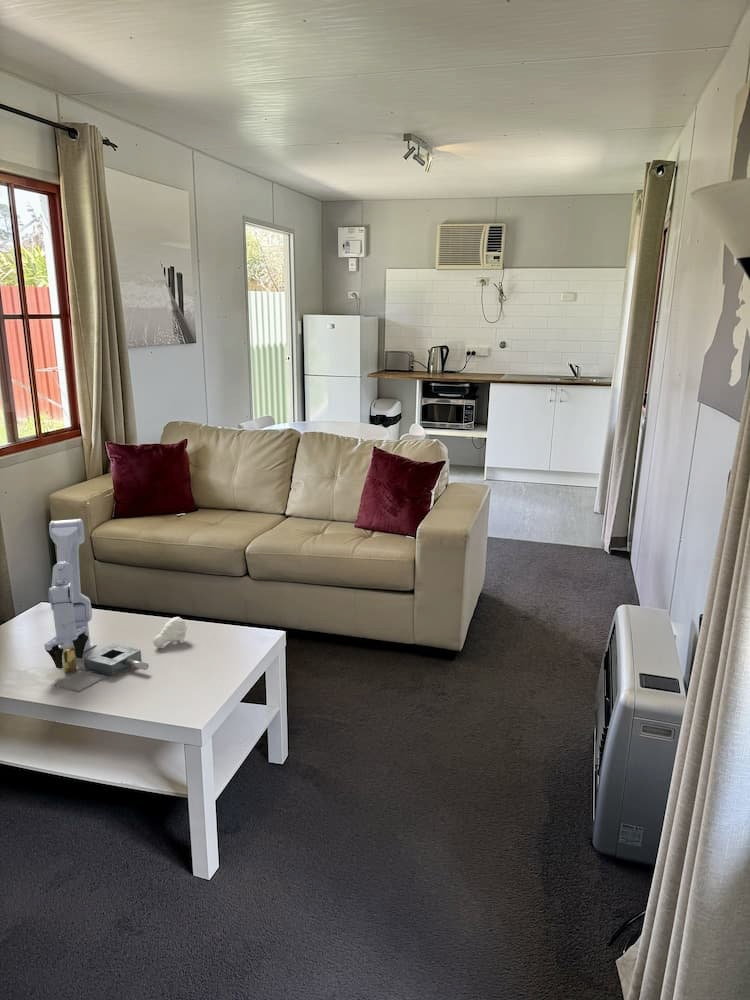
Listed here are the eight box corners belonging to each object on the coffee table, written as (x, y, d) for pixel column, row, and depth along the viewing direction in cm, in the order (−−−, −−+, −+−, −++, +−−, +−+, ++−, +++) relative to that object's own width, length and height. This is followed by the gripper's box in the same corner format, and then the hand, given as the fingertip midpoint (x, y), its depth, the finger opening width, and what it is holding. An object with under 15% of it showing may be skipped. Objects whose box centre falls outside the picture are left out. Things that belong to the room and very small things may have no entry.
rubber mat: (55, 685, 209) (55, 684, 208) (82, 671, 217) (82, 670, 217) (79, 692, 204) (79, 690, 204) (105, 677, 213) (105, 676, 213)
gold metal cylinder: (61, 671, 217) (59, 651, 216) (71, 667, 220) (68, 646, 219) (69, 674, 216) (67, 653, 214) (79, 669, 219) (76, 648, 217)
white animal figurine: (187, 617, 237) (157, 631, 228) (190, 639, 239) (161, 654, 230) (175, 613, 240) (145, 627, 232) (179, 635, 243) (150, 650, 234)
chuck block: (84, 670, 218) (83, 658, 217) (114, 654, 229) (113, 643, 228) (132, 682, 210) (131, 670, 209) (160, 666, 220) (159, 654, 219)
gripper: (53, 632, 207) (59, 674, 209) (92, 615, 219) (97, 655, 222) (37, 629, 210) (43, 670, 212) (76, 612, 222) (81, 652, 225)
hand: (69, 662), depth 218 cm, fingers open, 7 cm apart
